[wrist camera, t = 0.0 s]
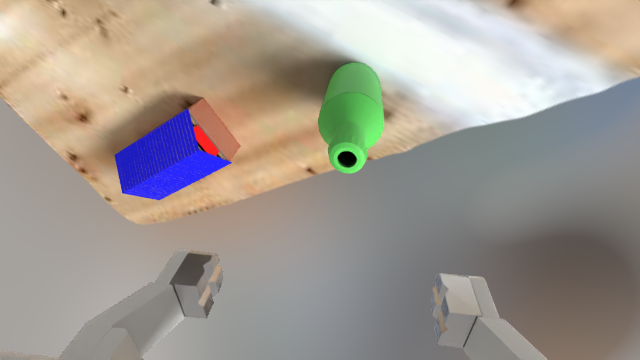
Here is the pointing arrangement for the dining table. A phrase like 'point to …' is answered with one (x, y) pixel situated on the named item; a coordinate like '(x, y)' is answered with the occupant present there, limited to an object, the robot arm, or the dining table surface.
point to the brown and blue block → (176, 153)
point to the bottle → (351, 116)
